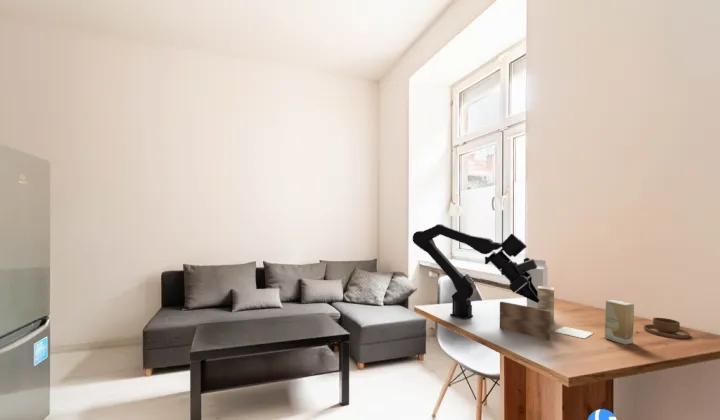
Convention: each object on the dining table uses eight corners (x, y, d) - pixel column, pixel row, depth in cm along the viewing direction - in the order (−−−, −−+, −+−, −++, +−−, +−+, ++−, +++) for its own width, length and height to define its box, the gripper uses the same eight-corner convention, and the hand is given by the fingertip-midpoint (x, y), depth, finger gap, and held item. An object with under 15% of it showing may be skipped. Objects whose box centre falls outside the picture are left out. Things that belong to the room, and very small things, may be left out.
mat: (554, 331, 119) (554, 331, 119) (564, 327, 125) (564, 326, 125) (584, 339, 113) (584, 338, 113) (593, 333, 118) (593, 332, 119)
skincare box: (604, 338, 114) (604, 300, 114) (612, 336, 115) (612, 299, 116) (625, 345, 108) (625, 304, 108) (634, 343, 109) (634, 303, 110)
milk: (543, 318, 136) (543, 261, 136) (526, 315, 140) (526, 259, 140) (547, 315, 140) (548, 259, 141) (531, 312, 144) (531, 258, 145)
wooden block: (537, 329, 122) (537, 288, 123) (537, 325, 127) (538, 286, 127) (553, 331, 120) (554, 289, 120) (553, 327, 124) (554, 287, 125)
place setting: (681, 344, 111) (681, 325, 111) (607, 328, 127) (607, 311, 127) (696, 335, 121) (696, 317, 121) (626, 320, 137) (626, 305, 137)
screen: (499, 328, 122) (499, 302, 122) (501, 327, 123) (501, 301, 123) (548, 340, 110) (548, 311, 110) (550, 340, 111) (550, 311, 111)
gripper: (520, 252, 120) (557, 288, 114) (524, 249, 136) (557, 280, 130) (495, 274, 123) (530, 310, 117) (502, 268, 139) (533, 299, 134)
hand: (539, 299), depth 125 cm, fingers open, 9 cm apart
